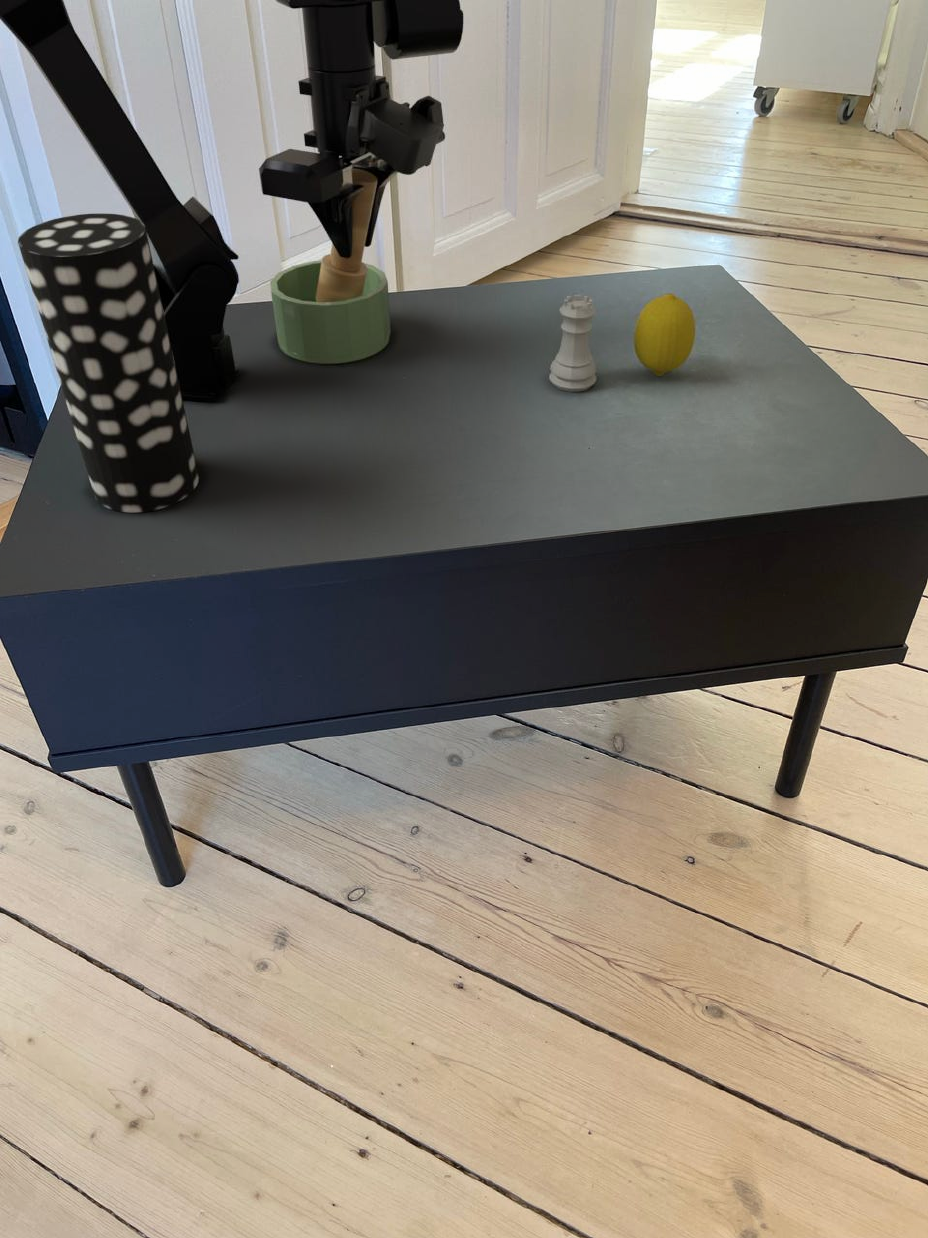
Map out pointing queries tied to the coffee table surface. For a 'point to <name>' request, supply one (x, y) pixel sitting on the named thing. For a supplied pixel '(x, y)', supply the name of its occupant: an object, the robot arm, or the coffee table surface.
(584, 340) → the rook chess piece
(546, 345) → the coffee table surface
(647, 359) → the lemon
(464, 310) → the coffee table surface
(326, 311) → the crock
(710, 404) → the coffee table surface
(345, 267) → the pestle
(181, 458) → the white-spotted black cylinder
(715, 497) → the coffee table surface
